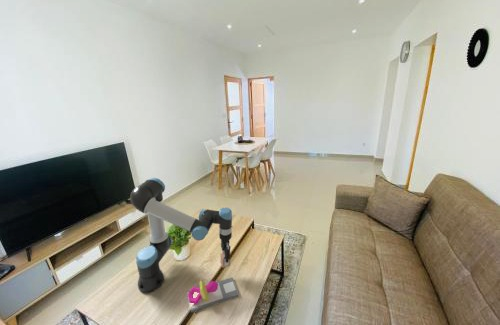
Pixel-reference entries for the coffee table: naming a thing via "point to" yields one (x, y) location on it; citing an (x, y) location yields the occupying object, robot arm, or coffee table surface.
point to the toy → (202, 291)
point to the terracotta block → (223, 260)
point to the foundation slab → (218, 295)
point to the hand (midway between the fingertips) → (225, 261)
